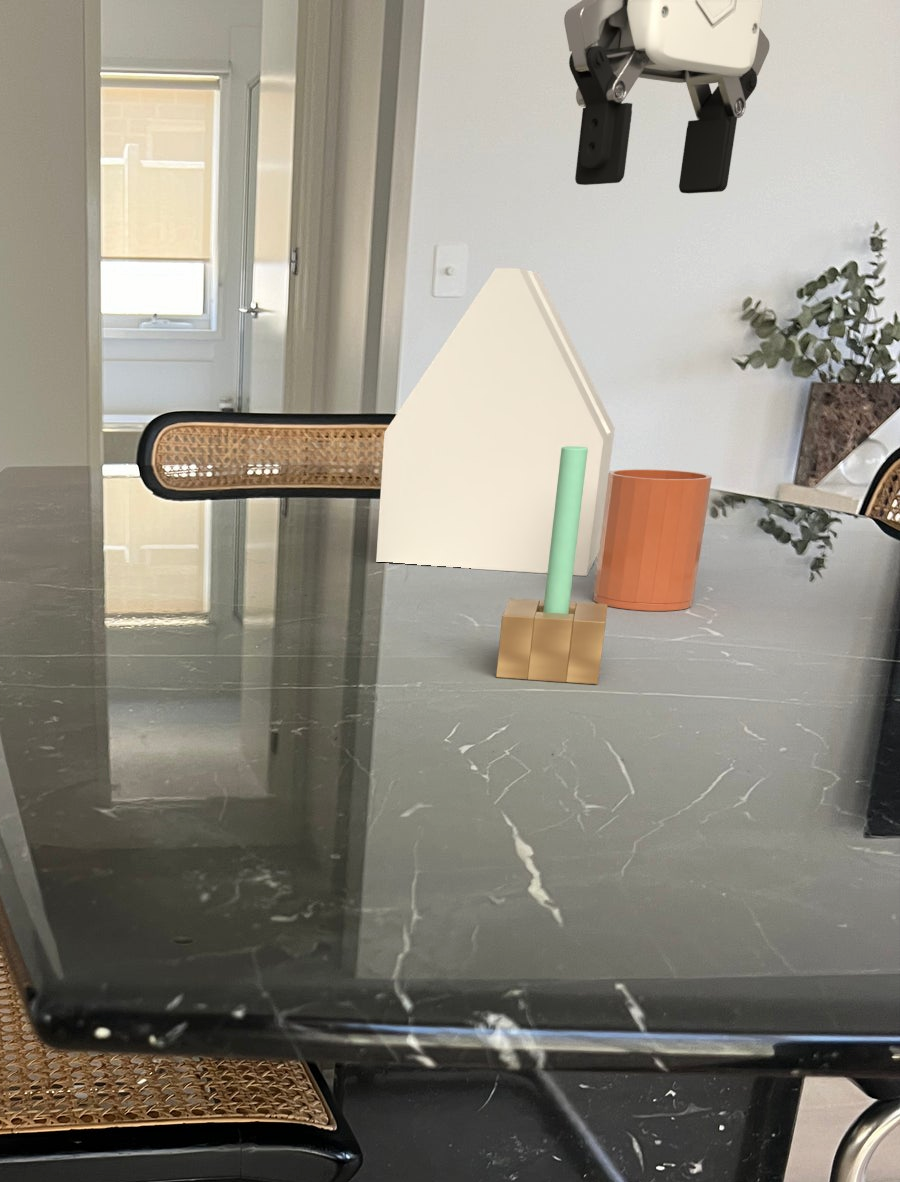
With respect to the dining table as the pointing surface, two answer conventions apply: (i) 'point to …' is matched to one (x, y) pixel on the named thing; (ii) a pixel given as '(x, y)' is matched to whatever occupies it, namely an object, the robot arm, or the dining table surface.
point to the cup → (651, 539)
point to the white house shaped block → (494, 440)
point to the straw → (565, 529)
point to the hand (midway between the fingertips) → (651, 187)
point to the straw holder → (551, 642)
